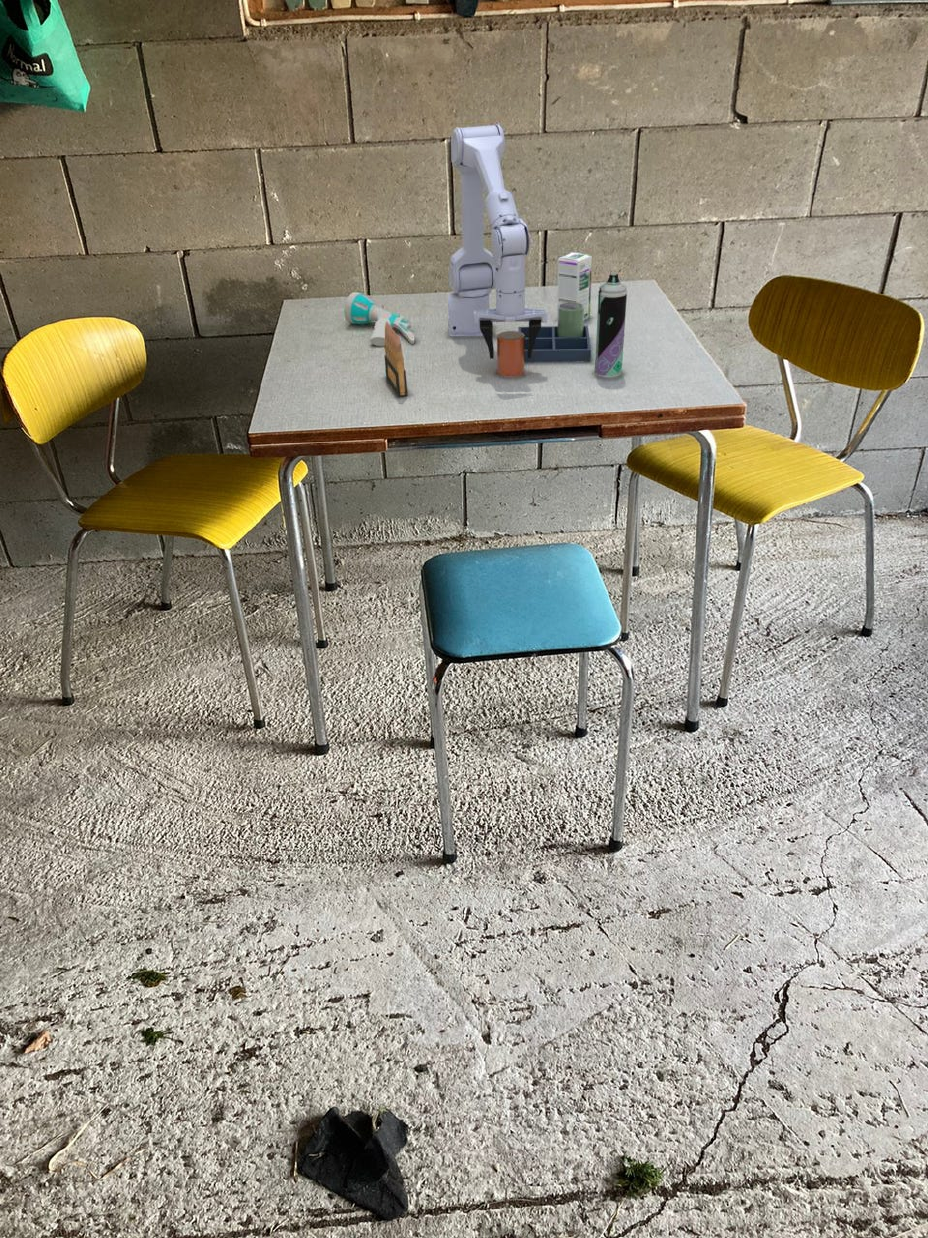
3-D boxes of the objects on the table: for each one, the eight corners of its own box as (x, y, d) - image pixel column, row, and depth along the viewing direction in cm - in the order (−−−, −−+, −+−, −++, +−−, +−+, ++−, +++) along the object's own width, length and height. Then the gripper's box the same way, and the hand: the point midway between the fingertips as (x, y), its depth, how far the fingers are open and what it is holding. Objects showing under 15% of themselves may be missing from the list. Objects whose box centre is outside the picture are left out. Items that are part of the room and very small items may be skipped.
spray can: (604, 381, 190) (610, 279, 178) (589, 372, 194) (593, 273, 182) (626, 375, 192) (633, 275, 180) (611, 367, 196) (617, 268, 184)
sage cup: (557, 347, 205) (558, 310, 201) (556, 338, 210) (557, 301, 205) (583, 346, 205) (584, 309, 200) (582, 338, 209) (583, 301, 205)
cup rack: (517, 364, 199) (517, 350, 198) (518, 339, 212) (518, 326, 210) (590, 363, 198) (591, 349, 196) (587, 338, 211) (587, 325, 209)
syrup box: (577, 324, 218) (580, 260, 210) (556, 320, 221) (557, 256, 213) (590, 318, 222) (593, 254, 214) (569, 314, 225) (571, 250, 217)
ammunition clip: (407, 395, 187) (403, 336, 180) (398, 397, 187) (394, 337, 180) (394, 377, 195) (390, 319, 188) (386, 378, 195) (381, 320, 188)
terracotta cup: (496, 378, 193) (496, 339, 188) (497, 368, 197) (497, 330, 193) (524, 378, 193) (524, 339, 188) (524, 368, 197) (524, 330, 192)
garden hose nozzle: (414, 328, 208) (420, 291, 223) (335, 323, 208) (346, 286, 223) (413, 358, 213) (419, 320, 228) (336, 353, 213) (347, 315, 227)
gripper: (472, 295, 182) (474, 363, 190) (547, 294, 181) (546, 363, 189) (474, 285, 188) (476, 351, 196) (547, 284, 187) (545, 350, 195)
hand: (510, 356), depth 193 cm, fingers open, 7 cm apart
